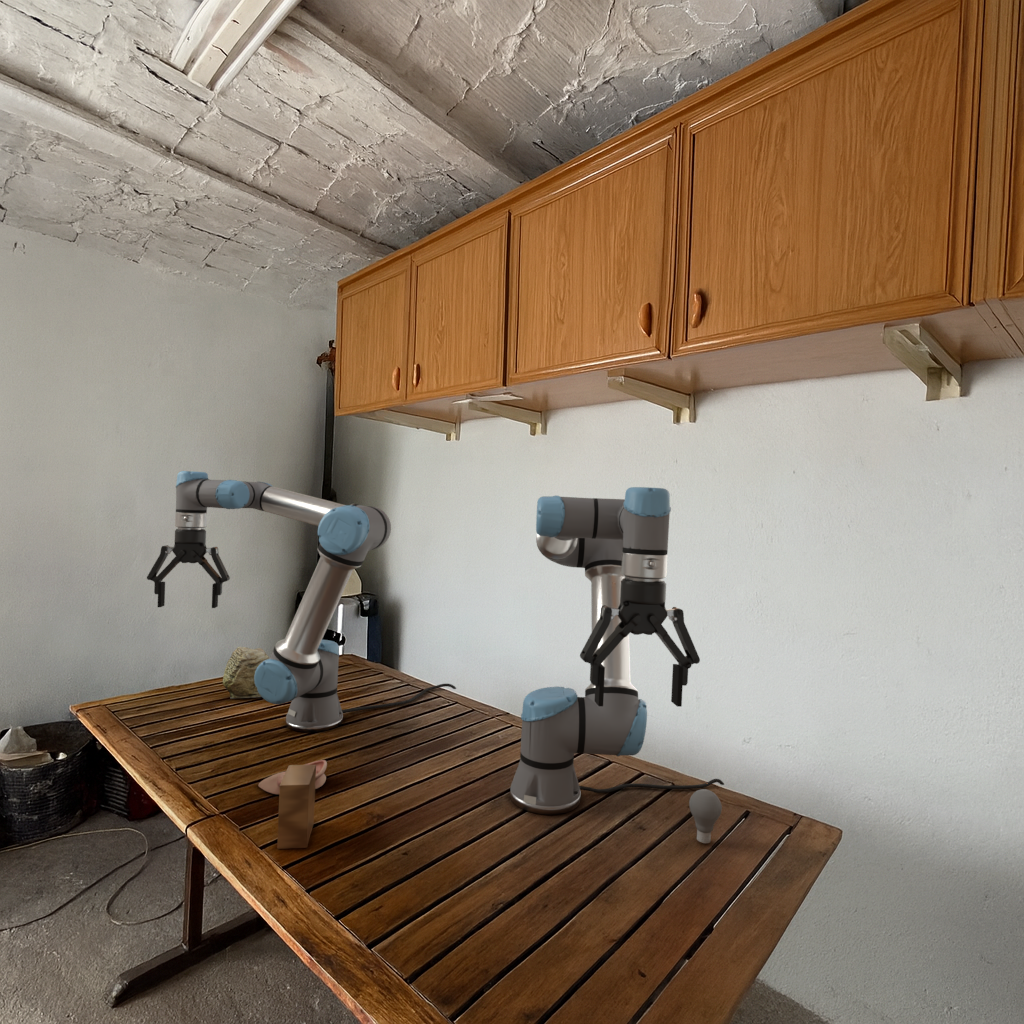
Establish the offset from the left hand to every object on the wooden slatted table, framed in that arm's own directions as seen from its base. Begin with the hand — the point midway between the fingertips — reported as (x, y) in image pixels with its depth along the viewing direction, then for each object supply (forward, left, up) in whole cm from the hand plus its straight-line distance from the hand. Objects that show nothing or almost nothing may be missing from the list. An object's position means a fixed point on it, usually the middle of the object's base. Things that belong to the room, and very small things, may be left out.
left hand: (188, 607), depth 171 cm
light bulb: (-40, +130, -32) cm, 139 cm away
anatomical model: (0, +53, -32) cm, 61 cm away
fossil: (-26, -10, -32) cm, 42 cm away
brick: (+11, +72, -32) cm, 79 cm away
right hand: (-18, +125, -1) cm, 127 cm away
